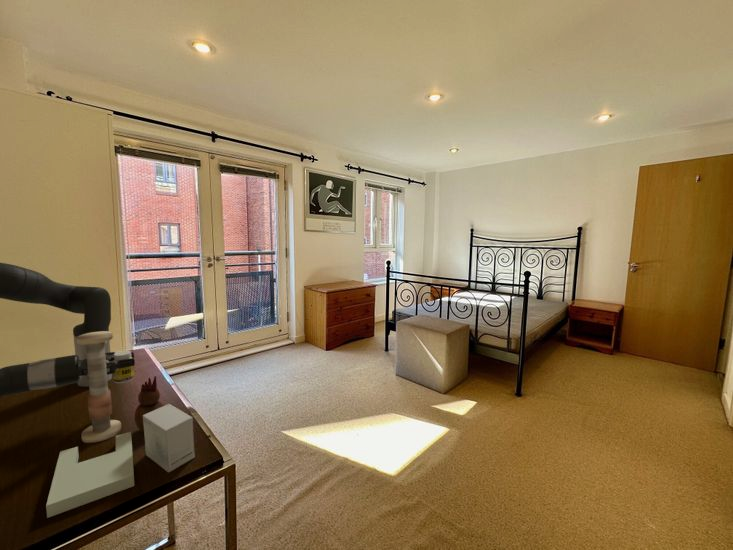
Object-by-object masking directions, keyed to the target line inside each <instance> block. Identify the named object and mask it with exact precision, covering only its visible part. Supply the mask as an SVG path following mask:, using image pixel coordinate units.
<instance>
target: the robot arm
mask: <svg viewBox="0 0 733 550" xmlns="http://www.w3.org/2000/svg"><path fill="white" fill-rule="evenodd" d="M0 299H3V300H8V301H13V302H19V303H26V304H36V305H47V306H51V307H53V308H57V309H60V310H63V311H66V312H70V313H72V314H73V313H74V314H80V315H83V323H79V324H77V325H75V326H74V327H73V329H72V335H73V345H74V346H73V347H74V354H73V355H65V356H59V357H52V358H46V359H40V360H37V361H32V362H26V363H20V364H13V365H8V366H4V367H0V397H4V396H7V395H14V394H18V393H24V392H25V393H26V392H30V391H35V390H36V391H37V390H46V389H51V388H57V387H61V386H65V385H66V386H67V385H71V384H77V386H79V387H82V388H83V387H89V378H88V366H87V353H86V345H79V344H77V343H76V337H77V336H79V335H82V334H86V333H91V332H99V331H109V332H110V330H109V329H110V328H109V327H110V324H111V322H112V321H111V320H112V301H111V295H110V293H109V292H108V290H107V289H106V288H103V287H99V286H82V285H80V286H79V285H70V284H66V283H65V284H64V283H60V282H56V281H54V280H52V279H50V278H49V277H48V276H46V275H45V274H42V273H41V272H38V271H35V270H33V269H30V268H25V267H24V266H23V267H22V266H19V265H15V264H10V263H4V262H0ZM115 353H116V352H115V351H111V340H109V341H106V342H105V355H106V369H107V382H109V381H111V380H112V379H113V373H115V371H116V370H118V368H119V369H120V368H125V367H131V366H133V367H134V366H135V363H136V361H135V353H134V352H132V351H131V357H132V358H130V359H124V360H118V361H114V360H115V359H114V354H115Z"/></svg>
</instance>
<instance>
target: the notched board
mask: <svg viewBox="0 0 733 550" xmlns="http://www.w3.org/2000/svg"><path fill="white" fill-rule="evenodd" d="M132 443H133V441H132V431H128V432H125V433H121V434H118V435H117V434H116V435H115V451H112V452H109V453H106V454H103V455H99V456H96V457H93V458H89V459H87V460H83V461H79V456H80V455H79V446H75V447H72V448H68V449H65V450H60V451H59V455H58V459H57V462H56V466H55V470H54V475H53V478H52V481H51V485H50V490H49V493H48V497H47V502H46V505H45V509H46V518H47V519H48V518H50V517H51V518H52V517H54V516H56V515H59V514H62V513H64V512H68V511H70V510H73V509H77V508H78V507H80V506H84V505H86V504H90V503H92V502H95V501H98V500H100V499H103V498H105V497H107V496H111V495H114V494H115V493H116V494H117V493H118V492H122V491H124V490H127V489H129V488H132V487H135V475H134V474H135V473H134V472H135V471H134V460H133V444H132Z"/></svg>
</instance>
